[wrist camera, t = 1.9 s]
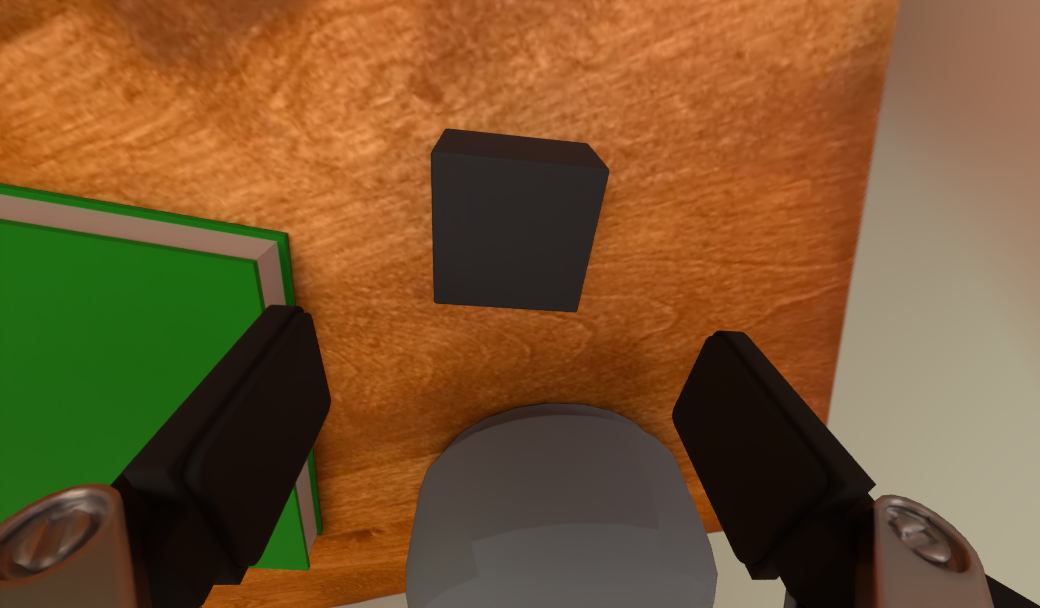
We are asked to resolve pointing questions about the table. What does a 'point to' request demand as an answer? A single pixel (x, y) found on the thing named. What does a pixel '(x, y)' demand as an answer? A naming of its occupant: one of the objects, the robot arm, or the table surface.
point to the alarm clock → (558, 518)
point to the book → (123, 340)
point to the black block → (513, 219)
